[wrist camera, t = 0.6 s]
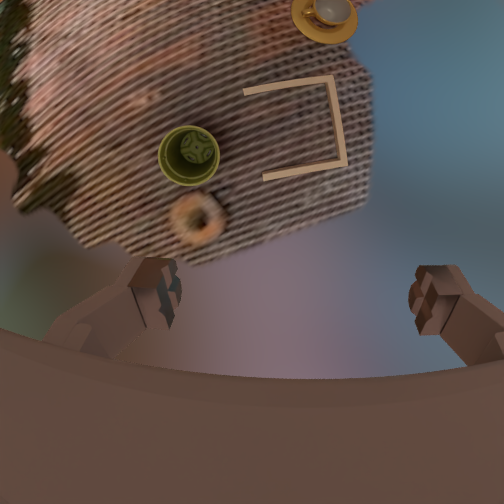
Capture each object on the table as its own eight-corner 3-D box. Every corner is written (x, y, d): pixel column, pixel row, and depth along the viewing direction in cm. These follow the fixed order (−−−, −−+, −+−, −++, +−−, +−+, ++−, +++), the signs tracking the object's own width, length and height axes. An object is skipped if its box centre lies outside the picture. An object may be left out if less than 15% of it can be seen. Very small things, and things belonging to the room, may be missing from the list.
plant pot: (208, 181, 53) (201, 196, 46) (162, 158, 51) (148, 169, 43) (233, 136, 49) (231, 143, 42) (186, 112, 47) (174, 115, 39)
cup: (345, -15, 35) (354, -24, 30) (365, 40, 41) (376, 36, 36) (281, -8, 37) (285, -19, 32) (302, 49, 42) (308, 43, 37)
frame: (242, 89, 45) (242, 88, 44) (329, 75, 44) (333, 74, 42) (263, 178, 53) (263, 181, 51) (344, 163, 52) (348, 165, 50)
